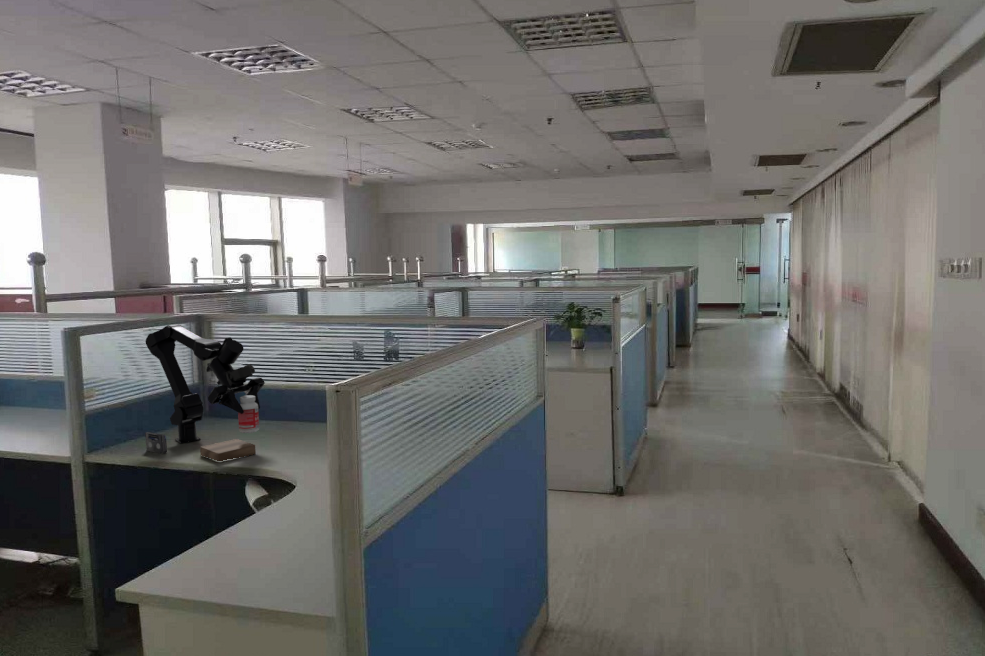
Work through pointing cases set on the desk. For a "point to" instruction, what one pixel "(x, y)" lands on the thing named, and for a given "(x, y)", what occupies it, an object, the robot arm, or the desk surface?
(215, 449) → the walnut plinth
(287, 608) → the desk surface
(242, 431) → the pill bottle
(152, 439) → the mini dv tape
